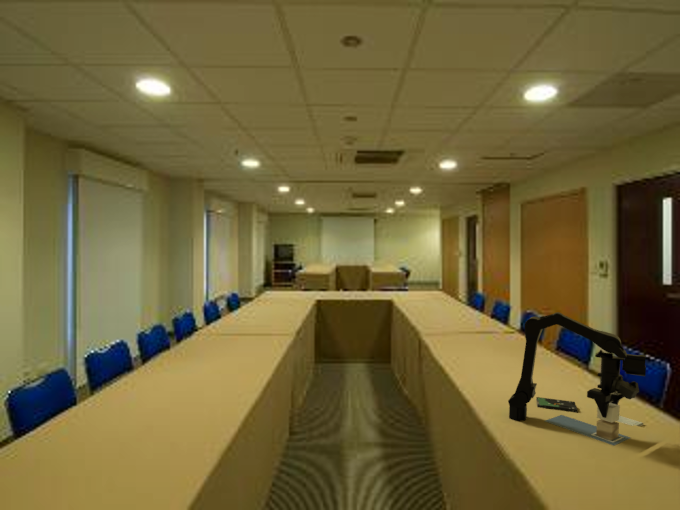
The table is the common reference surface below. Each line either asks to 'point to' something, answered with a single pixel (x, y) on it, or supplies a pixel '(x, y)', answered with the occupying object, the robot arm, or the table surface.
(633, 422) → the hard drive
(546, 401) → the disk drive
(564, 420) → the board
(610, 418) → the cream cube
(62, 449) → the table surface
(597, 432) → the maple cube
